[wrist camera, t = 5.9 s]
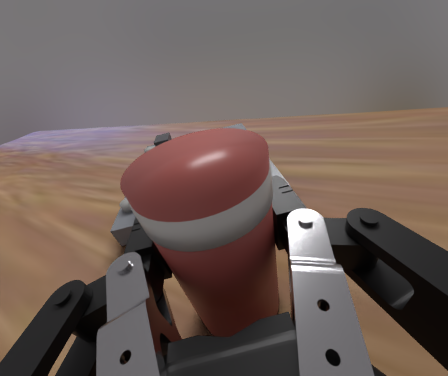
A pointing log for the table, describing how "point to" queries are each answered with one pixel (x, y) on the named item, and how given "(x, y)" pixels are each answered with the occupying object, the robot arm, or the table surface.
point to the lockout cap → (212, 222)
